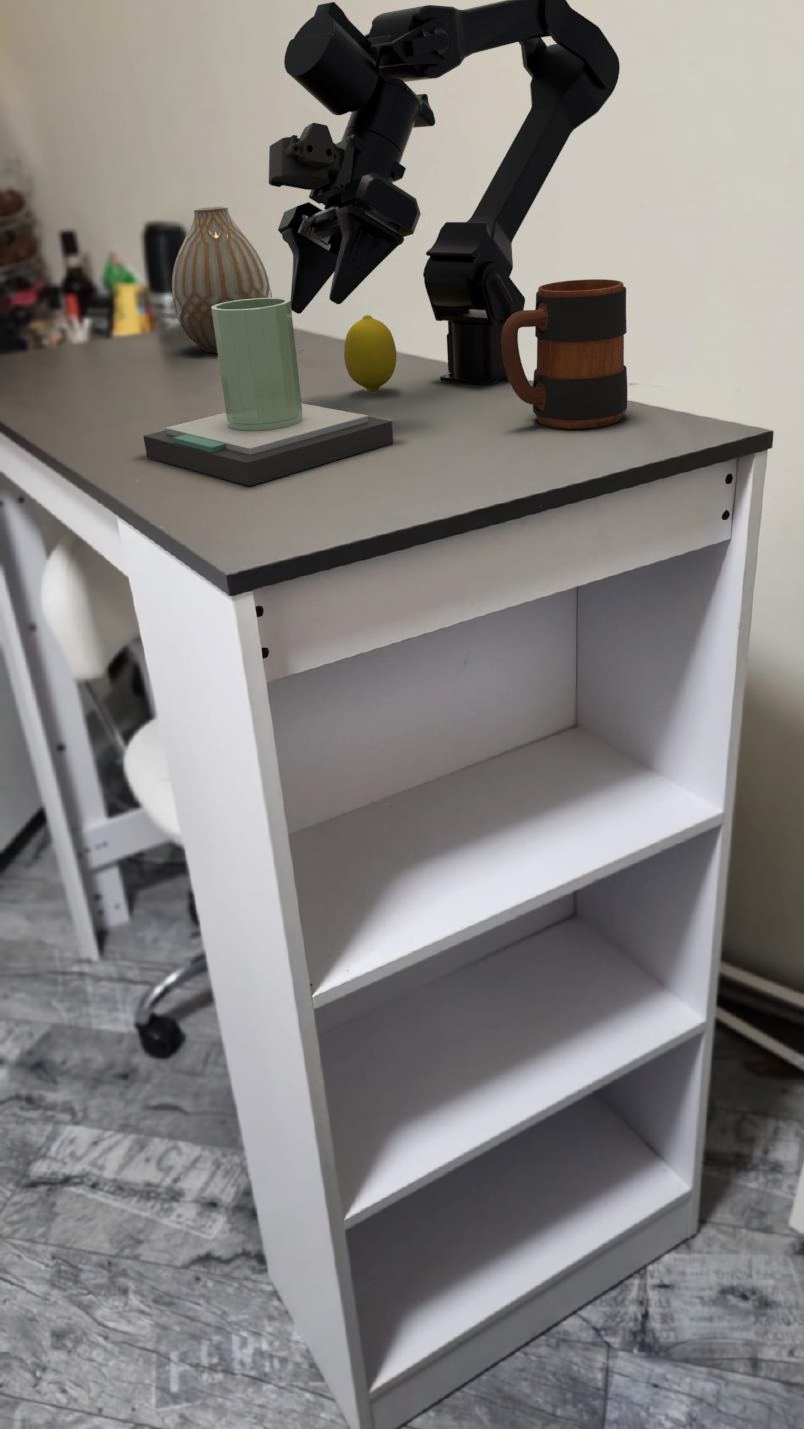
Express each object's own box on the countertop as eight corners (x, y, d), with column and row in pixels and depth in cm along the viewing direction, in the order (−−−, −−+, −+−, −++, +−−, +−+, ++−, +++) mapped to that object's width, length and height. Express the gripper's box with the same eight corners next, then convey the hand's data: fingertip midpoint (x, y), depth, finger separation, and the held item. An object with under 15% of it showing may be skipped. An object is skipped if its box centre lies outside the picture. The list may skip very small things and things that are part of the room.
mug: (484, 421, 103) (480, 290, 98) (597, 403, 107) (599, 275, 101) (524, 441, 96) (522, 300, 91) (644, 421, 99) (649, 284, 94)
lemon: (405, 387, 119) (400, 310, 116) (388, 399, 115) (382, 319, 111) (358, 387, 121) (352, 311, 117) (339, 398, 117) (332, 320, 113)
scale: (393, 443, 99) (391, 414, 97) (249, 486, 89) (245, 455, 88) (285, 420, 109) (282, 394, 108) (146, 457, 100) (141, 429, 99)
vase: (272, 336, 156) (256, 201, 148) (283, 351, 145) (266, 206, 136) (179, 346, 154) (158, 209, 146) (183, 362, 143) (160, 215, 134)
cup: (299, 410, 101) (287, 295, 97) (305, 426, 96) (292, 305, 91) (227, 417, 101) (210, 302, 96) (228, 434, 95) (211, 312, 90)
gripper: (260, 122, 105) (204, 277, 106) (342, 67, 89) (275, 250, 90) (356, 183, 111) (303, 330, 112) (450, 142, 95) (386, 313, 96)
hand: (314, 307), depth 102 cm, fingers open, 9 cm apart
